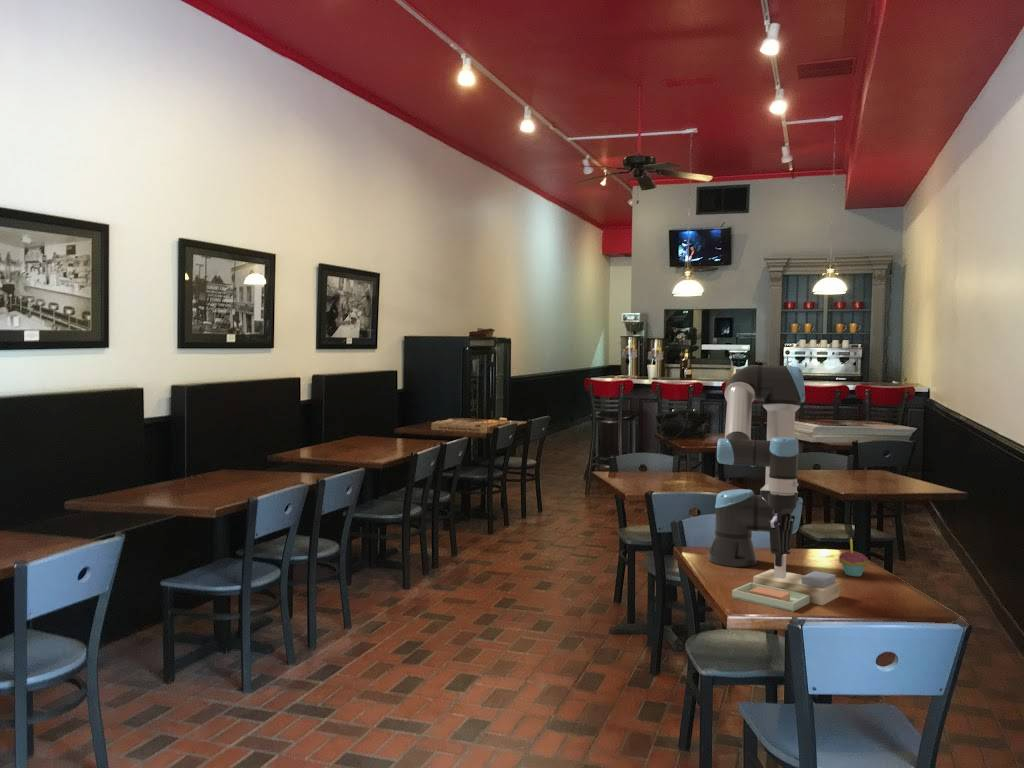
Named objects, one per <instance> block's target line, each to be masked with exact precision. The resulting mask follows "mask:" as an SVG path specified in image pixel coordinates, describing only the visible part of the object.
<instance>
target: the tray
mask: <svg viewBox="0 0 1024 768" xmlns="http://www.w3.org/2000/svg"><path fill="white" fill-rule="evenodd" d="M759 586H760V587H764V588H769V589H774V590H779V591H783V592H788V593H790V601H788V602H787V601H782V600H778V599H773V598H768V597H764V596H759V595H755V594H750V593H749V591H750V590H752V589H754V588H756V587H759ZM731 593H732V594H731V599H735V600H739V601H743V602H749V603H751V604H756V605H760V606H765V607H770V608H772V609H773V608H774V609H779V610H782V611H783V610H784V611H788V612H792V613H794V612H795V611H797V610H799V609H801V608H803V607H805V606H807V605H809V604H811V603H810V595H807V594H803V593H798V592H793V591H788V590H784V589H779V588H774V587H770V586H765V585H760V584H755V583H753V582H748V583H745V584H744V585H742V586H739V587H736V588H734V589H732V591H731Z"/></svg>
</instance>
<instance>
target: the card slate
mask: <svg viewBox="0 0 1024 768" xmlns="http://www.w3.org/2000/svg"><path fill="white" fill-rule="evenodd" d="M803 575H804V574H803ZM836 576H837V575H836V574H832V573H827V572H821V571H816V570H812V572H809V573H807V574H805V575H804V576H802V584H805V585H810V586H815V587H820V588H825V587H827V586H828V585H830V584H832V583H834V582H836V581H837V579H836V578H837V577H836Z"/></svg>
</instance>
